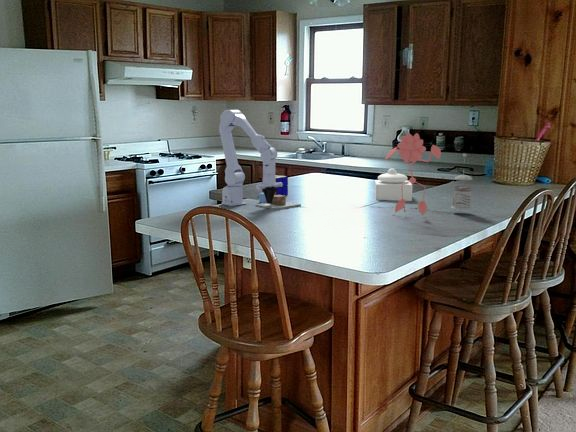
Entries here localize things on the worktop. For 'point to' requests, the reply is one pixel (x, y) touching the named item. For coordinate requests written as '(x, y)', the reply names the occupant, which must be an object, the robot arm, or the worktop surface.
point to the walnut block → (279, 200)
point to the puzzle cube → (284, 188)
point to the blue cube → (262, 198)
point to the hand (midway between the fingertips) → (269, 203)
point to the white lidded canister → (393, 186)
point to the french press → (462, 193)
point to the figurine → (412, 151)
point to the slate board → (279, 206)
